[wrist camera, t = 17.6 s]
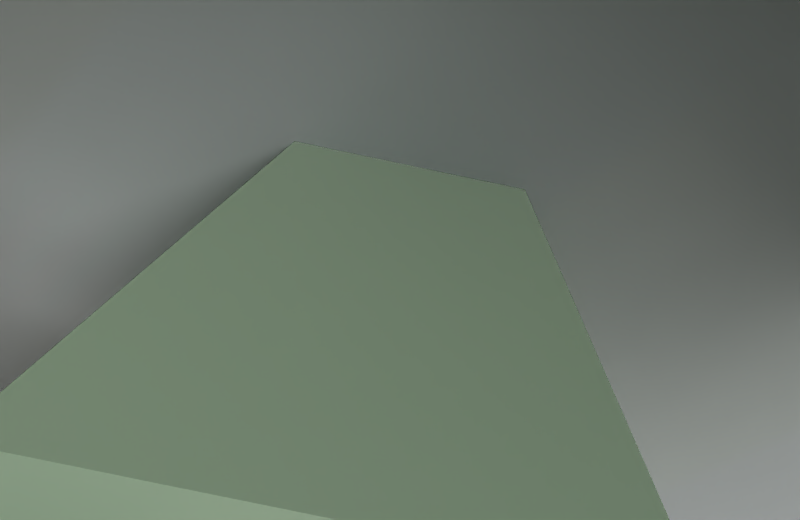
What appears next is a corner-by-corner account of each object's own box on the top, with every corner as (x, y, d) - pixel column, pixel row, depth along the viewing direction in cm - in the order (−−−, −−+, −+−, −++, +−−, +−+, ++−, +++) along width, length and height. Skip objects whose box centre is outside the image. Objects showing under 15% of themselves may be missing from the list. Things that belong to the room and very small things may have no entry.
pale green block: (295, 140, 14) (-57, 440, 4) (524, 188, 14) (702, 594, 4) (267, 388, 18) (30, 886, 8) (453, 426, 18) (461, 970, 8)
